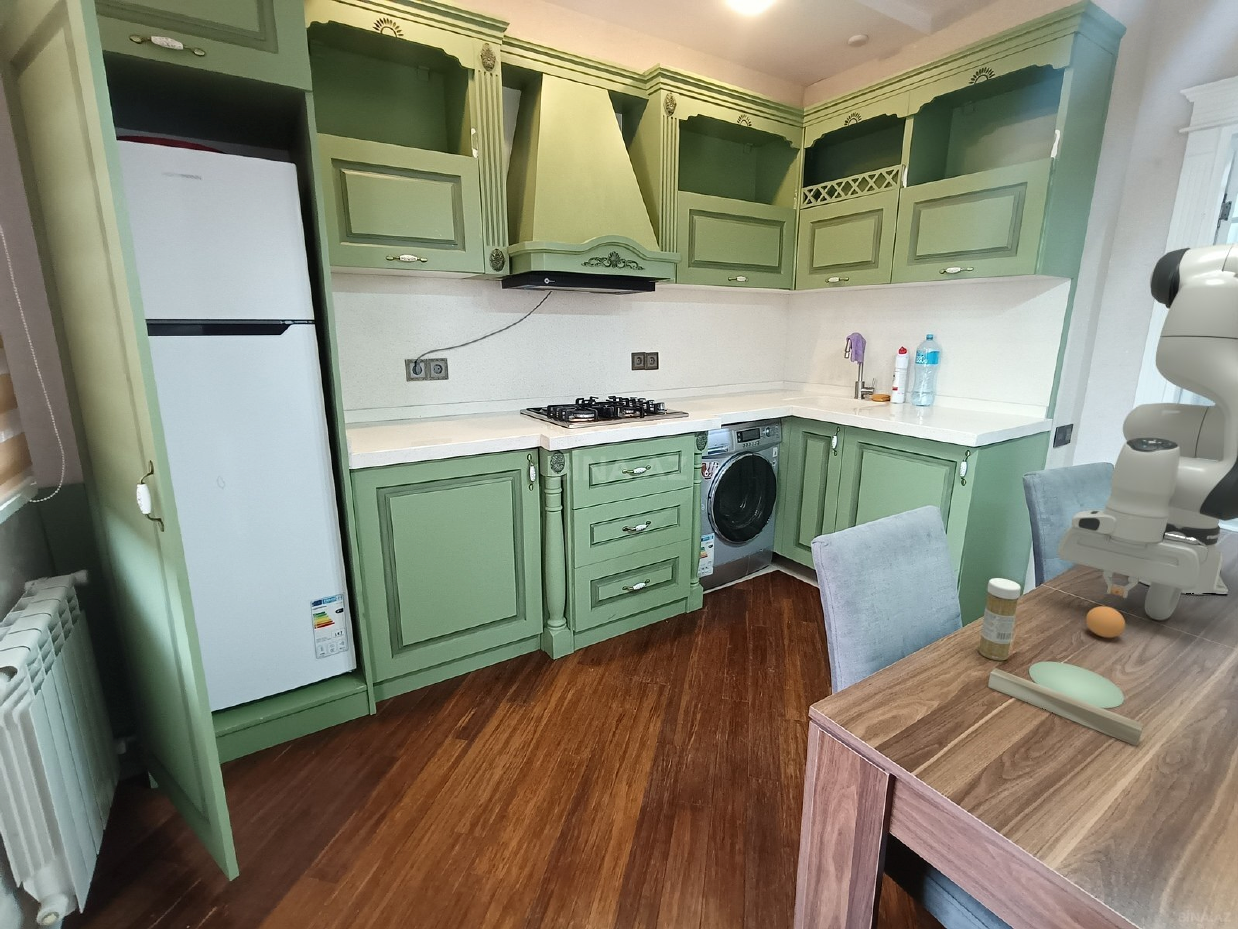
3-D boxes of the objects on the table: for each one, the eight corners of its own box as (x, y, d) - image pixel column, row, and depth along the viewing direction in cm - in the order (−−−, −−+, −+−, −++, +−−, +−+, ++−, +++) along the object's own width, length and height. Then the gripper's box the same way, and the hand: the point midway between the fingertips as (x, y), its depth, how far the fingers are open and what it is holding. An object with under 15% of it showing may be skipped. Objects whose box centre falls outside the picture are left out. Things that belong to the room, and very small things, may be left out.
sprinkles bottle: (1004, 650, 103) (1016, 579, 99) (1011, 664, 98) (1025, 590, 95) (974, 645, 104) (985, 575, 101) (980, 659, 100) (992, 586, 97)
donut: (1160, 629, 109) (1173, 580, 107) (1137, 622, 112) (1148, 573, 110) (1178, 615, 115) (1190, 568, 112) (1155, 608, 118) (1166, 562, 115)
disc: (1039, 654, 101) (1040, 653, 101) (1129, 685, 93) (1130, 684, 93) (1019, 682, 93) (1019, 681, 93) (1115, 719, 85) (1116, 718, 85)
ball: (1086, 624, 111) (1092, 598, 110) (1124, 636, 107) (1130, 608, 106) (1080, 635, 108) (1086, 607, 106) (1118, 647, 104) (1125, 618, 102)
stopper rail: (992, 681, 94) (994, 667, 93) (1139, 739, 81) (1143, 724, 80) (988, 686, 92) (990, 672, 92) (1137, 746, 79) (1141, 730, 79)
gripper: (1212, 537, 103) (1193, 609, 106) (1069, 510, 118) (1056, 574, 121) (1210, 545, 99) (1190, 620, 102) (1062, 516, 113) (1049, 582, 116)
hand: (1116, 595), depth 111 cm, fingers closed
